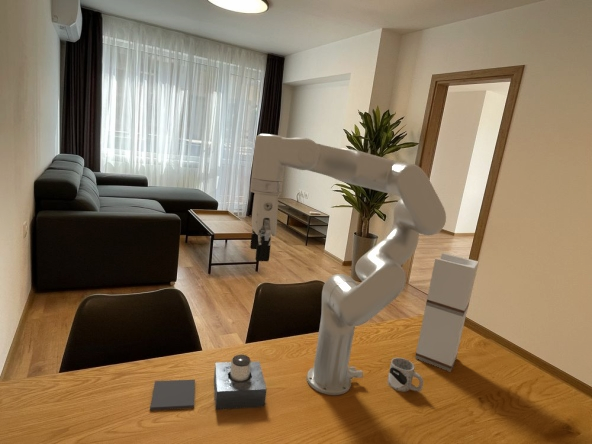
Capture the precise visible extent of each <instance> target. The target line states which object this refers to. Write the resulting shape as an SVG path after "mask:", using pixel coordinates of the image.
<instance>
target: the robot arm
mask: <svg viewBox="0 0 592 444" xmlns="http://www.w3.org/2000/svg"><path fill="white" fill-rule="evenodd" d="M253 149H254V150H253V161H252V169H251V180H250V193H254V195H253V202H252V211H251V228H252V229H251V235H250V236H251V237H250V245H249V248H250V249H251V250H256V252H255V258H254V259H255V262H269V261H270V256H271V255H270V253H271V244H272V243H271V242H272V241H271V240H272V237H275V236H276V234H277V228H278V227H277V225H278V209H279V196H281V195H282V191H283V181H284V173H285V167H287V168H291V169H295V170H299V171H309V172H312V173H316V174H320V175H323V176H327V177H330V178H333V179H335V180H336V181H340V182H342V183H346V184H350V185H353V186H356V187H357V186H358V187H362V188H365V189H370V190H374V191H378V192H381V193H386V194H390V195H393V196H397V197H400V199H399V200H398V201H397V202H396V204H395V206H394V208H393V220H392V221H393V222H392V226H391V229H390V231H389V232H388V234H387V235H386V236H385V237H383V238H382V239H381V240H380V241H379V242H378V243H377V244H376V245H374V246H373V247H371V248H370V249H369V250H368V251H367V252H366V253H364V254H363V255H362V256H361V257H360V258H359V259H358V260H356V261H357V262H356V264H355V267H354V268H355V269H354V270H355V273H356V276H357V277H358V279H360V281H361V282H360V283H358V282H357V281H355V280H354V279H353V278H352V277H351V276H349V275H347V274H345V273H335V274H333V275H330V277H329V278H327V280H325V282H324V284H323V286H322V291H321V315H320V323H319V330H318V334H317V335H318V337H317V342H316V343H317V344H316V350H315V356H314V362H313V367H311V368H310V369H309V370H308V371H307V374H306V381H307V383H308V385H309V386H310V387H311V388H313V389H314V390H315V391H316V392H319V393H321V394H325V395H328V396H339V395H344V394H345V393H348V391H350V389H351V386H352V379H353V378H363V377H364V372H363V370H361V369H360V370H356V367H355V366H349V363H350V357H351V351H352V346H353V341H354V340H353V339H354V335H355V329H356V328H355V327H359V326H361V325H364V324H365V323H368V321H370V320H372V319H373V318H374V317H375V316H376V315H378V314H379V313H380V312H381V311H383V310H384V309H385V308H386V307H387V306H388V305H390V304H391V303H392V302H393V301H394V300H396V299H397V298H398V297H399V296H400V294H401V293H402V292H403V290H404V289H405V286H406V283H407V277H406V276H407V275H406V271H405V269H404V268H403V265H404V264H405V263H406V262H407V261H408V260H409V259H410V258H411V257H412V256H414V254H415V252H416V250H417V248H418V243H419V237H420V235H422V236H423V235H424V236H434V235H437V234H439V233H440V232H441V231H442V230H443V229H444V227H445V225H446V223H447V213H446V210H445V207H444V206H443V203H442V202H441V199H440V198H439V196H438V194H437V191H436V190H435V188H434V186H433V184H432V183H431V181H430V179H429V177H428V175H427V174H426V173H425V171H424V170H423V169H422V167H420V166H418V165H417V164H414V163H407V162H403V161H402V162H401V161H398V160H394V159H389V158H385V157H382V156H378V155H375V154H371V153H369V152H364V151H361V150H357V149H351V148H350V149H349V148H340V147H334V146H330V145H329V146H328V145H325V144H320V143H316V142H315V141H314V140H312V139H310V138H307V137H284V136H282V135H277V134H270V133H260V134H258V135H256V138H255V141H254V148H253ZM271 236H272V237H271Z"/></svg>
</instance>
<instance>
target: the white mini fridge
mask: <svg viewBox="0 0 592 444" xmlns="http://www.w3.org/2000/svg"><path fill="white" fill-rule="evenodd" d="M433 263H434V264H433V268H432V273H431V277H430V283H429V288H428V292H427V293H428V294H427V298H426V302H425V307H424V312H423V317H422V322H421V327H420V332H419V337H418V340H417V346H416V352H415V357H414V359H415V358H416V360H418V359H419V360H418V361H421V362H423V361H424V363H426V364H428V363H429V365H431V364H432V365H431V366H433V365H434V367H436V366H437V367H436V368H438V367H439V369H441V368H442V370H443V371H444V370H445V371H446V370H447V372H449V373H451V372H452V370H453V368H454V365H455V363H456V361H457V358H458V352H459V347H460V344H461V339H462V334H463V331H464V327H465V326H464V325H465V322H466V321H465V320H466V318H467V317H466V316H467V312H468V309H469V305H470V301H471V296H472V292H473V289H474V288H473V287H474V284H475V280H476V279H475V278H476V274H477V269H478V266H479V261H478V260H473V259H470V258H466V257H462V256H461V257H460V256H457V255H454V254H449V253H445V252H441V255H440V258H437V257H435V258H434V262H433ZM455 360H456V361H455Z"/></svg>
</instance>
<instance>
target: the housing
mask: <svg viewBox="0 0 592 444" xmlns="http://www.w3.org/2000/svg"><path fill="white" fill-rule="evenodd" d="M230 371H231V361H229V362H226V361H225V362H223V361H221V362H215V363H214V373H213V374H214V375H213V386H214V388H213V389H214V406H215V409H214V410H217V411H218V410H234V409H235V410H236V409H248V408H249V409H251V408H252V409H253V408H255V409H256V408H265V406H266V398H267V397H266V396H267V389H268V388H267V385H266V382H265V377H264V374H263V370H262V366H261V363H260V361H251V368H250V377H249V380H248V381H247V382H244V383H236V382H234V381H232V380H230Z"/></svg>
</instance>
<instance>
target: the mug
mask: <svg viewBox="0 0 592 444" xmlns="http://www.w3.org/2000/svg"><path fill="white" fill-rule="evenodd" d="M389 367H390V368H389V371H388V377H387V384H388V386H389V387H390V388H392V389H393V390H395V391H396V392H397V391H398V392H403V393H405V392H406V393H407V392H409V391H415V392H419V393H420V392H421V391H422V390H423V386H424V378H423V377H422V376H421V375H420V374H419V373H418V372H417V371H415V368H416V366H415V364H414V363H413V362H412V361H410V360H409V359H406V358H404V357H394V358H392V359H391V362H390V366H389ZM413 378H416V379H418V381H419V385H418V386H415V385H414V384H413Z"/></svg>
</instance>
